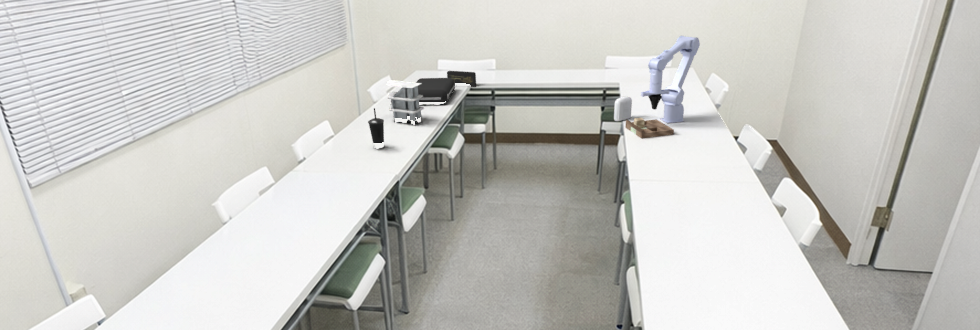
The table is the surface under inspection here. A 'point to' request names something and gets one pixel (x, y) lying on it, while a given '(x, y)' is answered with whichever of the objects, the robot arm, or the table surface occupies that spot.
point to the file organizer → (405, 100)
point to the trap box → (650, 129)
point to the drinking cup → (377, 129)
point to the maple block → (639, 122)
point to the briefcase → (435, 89)
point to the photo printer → (622, 108)
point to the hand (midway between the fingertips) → (654, 108)
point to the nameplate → (463, 77)
